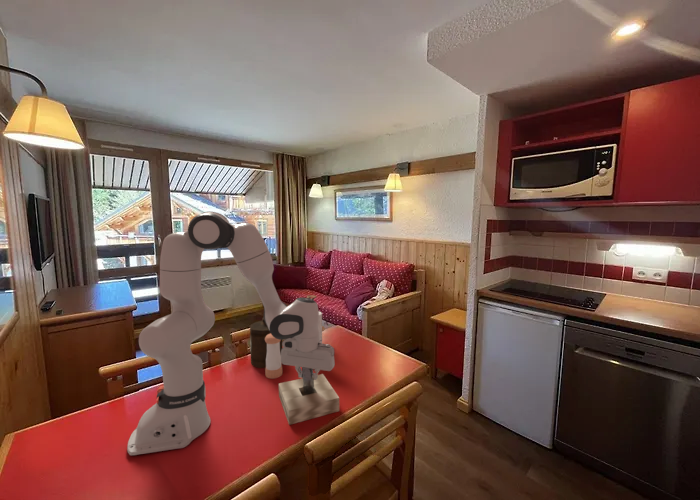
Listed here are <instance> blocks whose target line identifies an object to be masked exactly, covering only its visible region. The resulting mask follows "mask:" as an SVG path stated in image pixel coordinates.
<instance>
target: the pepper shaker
mask: <svg viewBox="0 0 700 500" xmlns="http://www.w3.org/2000/svg"><path fill="white" fill-rule="evenodd" d="M280 341H281V340H280V339H276V338H275V337H273V336H272V334H268V335H267V336H266V337H265V342H266V343H267V355H266V368H264V371H265V372H264V373H265V377H266V378H267V379H270V380H271V379H272V380H273V379H277V378H280V377H281V376H282V375H283V364H282V362H281V354H280Z"/></svg>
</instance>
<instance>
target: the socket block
mask: <svg viewBox="0 0 700 500" xmlns="http://www.w3.org/2000/svg"><path fill="white" fill-rule="evenodd" d="M317 375H318V377H317V379H316V380H314V392H313V393H312V394H305V393H304V391H303V378H298V379H294V380H289V381H284V382H280V383H278V397H279V400H280V403H281V406H282V409H283V412H284V415H285V417H286V420H287V424H288V425H289V426H290V425H293V424H297V423H302V422H304V421H308V420H311V419H315V418H319V417H323V416H326V415H330V414H333V413H337V412H340V397H339V395H338V393H337V392H336V391H335V389H334V388H333V387H332V384H330V382H329V381H328V379H327V378H326V376H325V374H324V373H321V374H317Z"/></svg>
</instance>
